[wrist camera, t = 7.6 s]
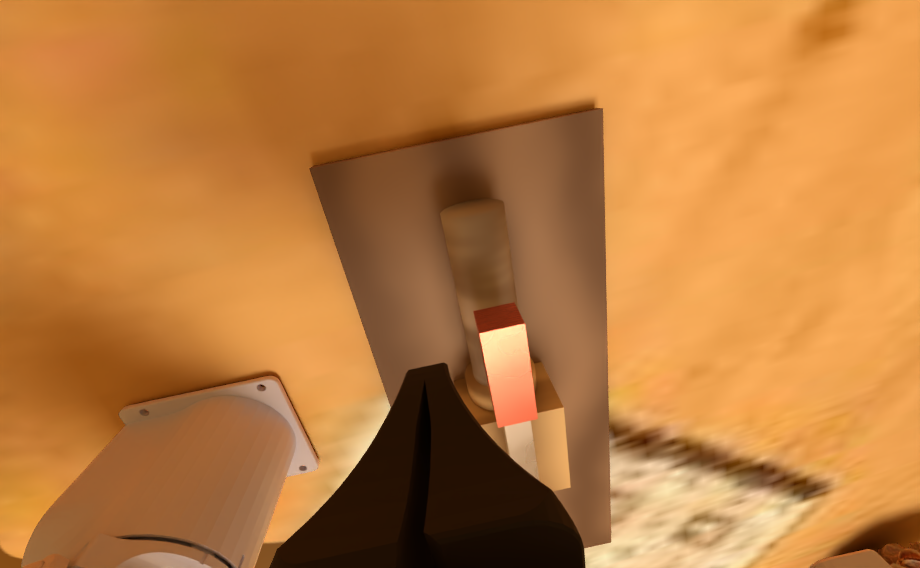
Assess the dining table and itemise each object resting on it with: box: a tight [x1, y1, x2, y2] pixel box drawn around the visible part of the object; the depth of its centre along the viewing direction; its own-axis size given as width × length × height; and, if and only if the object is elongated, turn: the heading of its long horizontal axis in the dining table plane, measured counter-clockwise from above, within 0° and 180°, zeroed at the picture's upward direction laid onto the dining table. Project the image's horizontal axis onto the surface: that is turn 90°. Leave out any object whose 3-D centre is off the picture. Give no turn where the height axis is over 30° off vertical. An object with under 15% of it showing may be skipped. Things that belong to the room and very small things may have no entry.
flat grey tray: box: [309, 108, 611, 548], centre depth 24 cm, size 14×34×5 cm, turn 10°
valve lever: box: [473, 302, 539, 480], centre depth 18 cm, size 11×2×2 cm, turn 11°
